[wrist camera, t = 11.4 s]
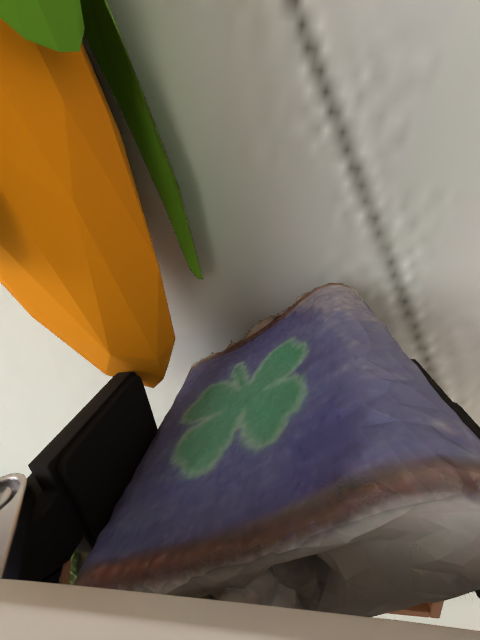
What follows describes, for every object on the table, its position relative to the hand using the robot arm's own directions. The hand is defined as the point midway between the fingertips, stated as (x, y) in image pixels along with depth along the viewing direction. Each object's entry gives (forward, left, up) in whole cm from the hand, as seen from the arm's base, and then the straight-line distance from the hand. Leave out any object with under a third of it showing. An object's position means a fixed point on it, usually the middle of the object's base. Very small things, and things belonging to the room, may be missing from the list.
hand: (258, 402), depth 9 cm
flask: (0, 0, -4) cm, 4 cm away
